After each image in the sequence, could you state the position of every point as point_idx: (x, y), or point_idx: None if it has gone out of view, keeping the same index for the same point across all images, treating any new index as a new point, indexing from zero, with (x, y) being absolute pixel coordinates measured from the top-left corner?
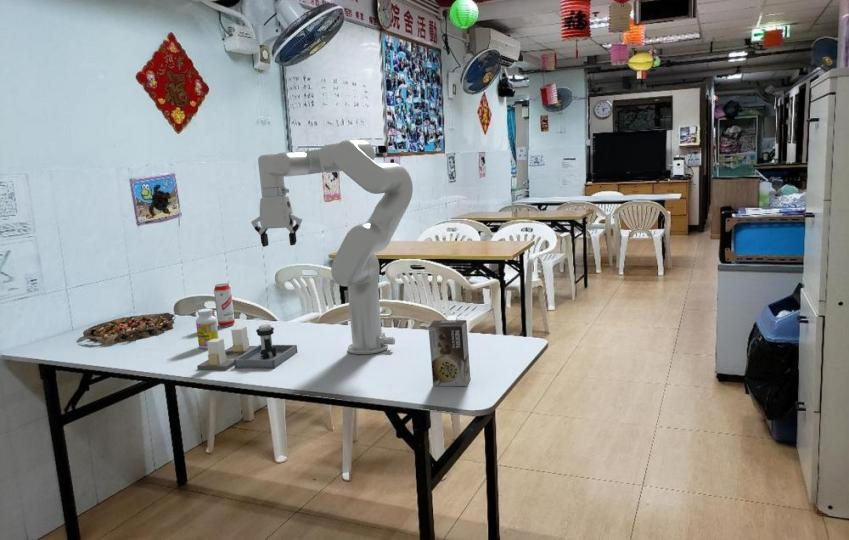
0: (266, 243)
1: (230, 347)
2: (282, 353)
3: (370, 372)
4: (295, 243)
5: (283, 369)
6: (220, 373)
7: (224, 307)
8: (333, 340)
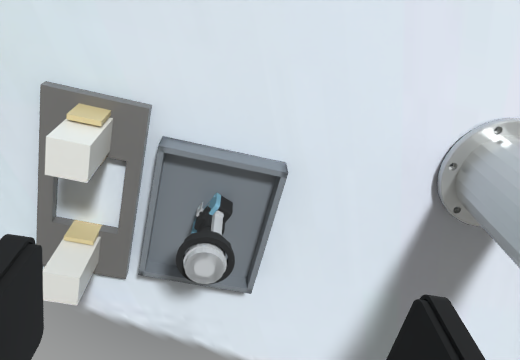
0: (28, 310)
1: (41, 104)
2: (261, 245)
3: (470, 329)
4: (444, 305)
5: (274, 287)
6: (121, 289)
7: None
8: (394, 47)
